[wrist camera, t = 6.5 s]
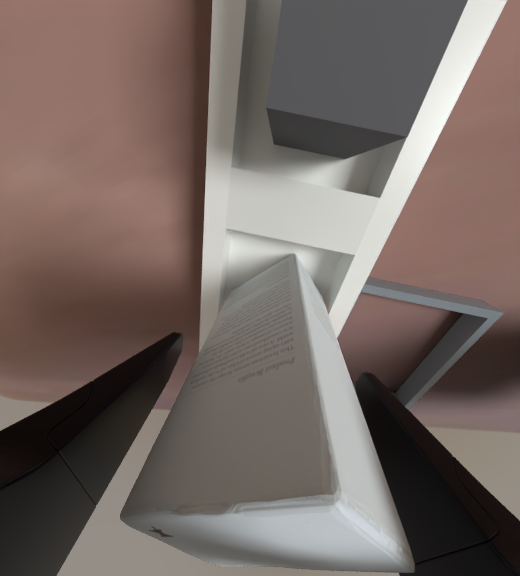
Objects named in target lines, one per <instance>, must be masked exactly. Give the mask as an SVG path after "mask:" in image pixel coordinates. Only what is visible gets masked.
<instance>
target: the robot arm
mask: <svg viewBox="0 0 520 576" xmlns="http://www.w3.org/2000/svg"><path fill="white" fill-rule="evenodd" d="M182 348H183V336H182V334H181V333H176V332H173V333H171V334H169V335H168V336H166V337H164V338H163V339H161V340H159V341H158V342H156V343H154V344H153V345H151V346H149V347H148V348H146V349H144V350H143V351H141V352H139V353H138V354H136V355H134V356H133V357H131V358H129V359H128V360H126V361H124V362H123V363H121V364H119V365H118V366H116V367H114V368H113V369H111V370H109V371H108V372H106V373H104V374H103V375H101V376H99V377H98V378H96V379H94V381H91V382H89V383H88V384H86V385H84V386H83V387H81V388H79V389H78V390H76V391H74V392H72V393H71V394H69V395H67V396H65V397H64V398H62V399H60V400H58V401H56V402H54V403H53V404H51V405H49V406H47V407H45V408H43V409H42V410H40V411H38V412H36V413H34V414H32V415H30V416H28V417H26V418H24V419H22V420H20V421H18V422H16V423H15V424H13V425H11V426H9V427H7V428H5V429H3V430H1V431H0V576H57V574H58V572H59V570H60V568H61V567H62V565H63V563H64V562H65V560H66V558H67V556H68V554H69V553H70V551H71V549H72V548H73V546H74V544H75V542H76V541H77V539H78V537H79V536H80V534H81V532H82V530H83V529H84V527H85V525H86V523H87V521H88V520H89V518H90V516H91V515H92V513H93V511H94V509H95V508H96V505H97V504H98V502H99V501H100V499H101V497H102V495H103V493H104V492H105V490H106V488H107V487H108V485H109V483H110V481H111V480H112V478H113V476H114V474H115V473H116V471H117V469H118V468H119V466H120V464H121V462H122V460H123V458H124V457H125V455H126V453H127V452H128V450H129V448H130V447H131V445H132V443H133V441H134V440H135V438H136V436H137V434H138V433H139V431H140V429H141V427H142V426H143V424H144V422H145V421H146V419H147V417H148V415H149V414H150V412H151V410H152V408H153V407H154V405H155V403H156V401H157V400H158V398H159V396H160V395H161V393H162V391H163V389H164V388H165V386H166V384H167V382H168V380H169V378H170V376H171V374H172V371H173V369H174V367H175V365H176V362H177V360H178V358H179V356H180V353H181V351H182ZM355 389H356V395H357V398H358V401H359V404H360V406H361V409H362V412H363V415H364V418H365V420H366V423H367V426H368V429H369V432H370V435H371V438H372V441H373V444H374V447H375V450H376V453H377V455H378V458H379V461H380V464H381V467H382V469H383V472H384V475H385V478H386V481H387V484H388V486H389V489H390V492H391V495H392V498H393V501H394V504H395V507H396V509H397V512H398V515H399V518H400V521H401V524H402V526H403V529H404V532H405V535H406V538H407V541H408V544H409V546H410V549H411V553H412V556H413V560H414V563H415V571H414V572H413V573H399V575H400V576H520V521H519V520H518V519H517V518H516V517H515V516H514V515H513V514H512V513H511V512H510V511H509V510H507V509H506V508H505V507H504V506H503V505H502V504H501V503H500V502H499V501H498V500H497V499H496V498H495V497H494V496H493V495H492V494H491V493H490V492H489V491H488V490H487V489H486V488H484V486H483V485H481V483H480V482H478V480H476V478H475V477H474V476H472V474H470V472H468V471H467V469H466V468H465V467H464V466H462V464H460V462H459V461H457V460H456V458H455V457H452V454H451V453H450V452H449V451H448V450H447V449H446V448H445V447H444V446H443V445H442V444H441V443H440V442H439V441H438V440H437V439H436V438H435V437H434V436H433V435H432V434H431V433H430V432H429V431H428V430H427V429H426V428H425V427H424V426H423V425H422V424H421V423H420V422H419V420H418V419H417V418H416V417H415V416H414V415H413V414H412V413H411V412H410V411H409V410H408V409H407V408H406V407H405V406H404V405H403V404H402V403H401V402H400V401H399V400H398V399H397V398H396V397H395V396H394V395H393V394H392V393H391V392H390V391H389V390H388V389H387V388H386V387H385V386H384V385H383V384H382V383H381V382H380V381H379V380H378V379H377V378H376V377H375V375H373V374H372V373H367V372H363V373H362V374H361V375H360V377H359V378H358V380H357V381H356V383H355Z"/></svg>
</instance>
